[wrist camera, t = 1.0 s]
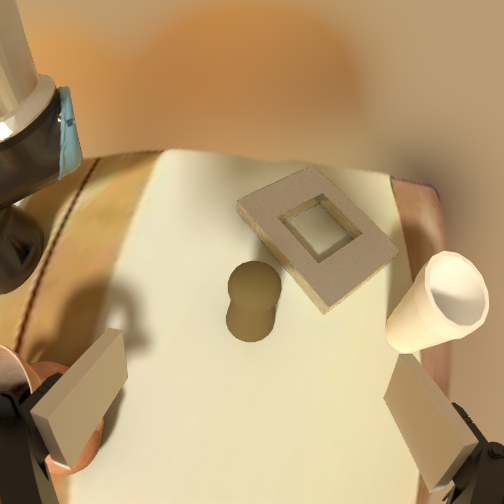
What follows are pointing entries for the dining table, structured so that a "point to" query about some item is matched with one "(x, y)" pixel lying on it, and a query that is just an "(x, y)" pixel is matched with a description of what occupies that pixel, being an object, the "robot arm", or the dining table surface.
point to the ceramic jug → (27, 381)
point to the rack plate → (293, 252)
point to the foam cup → (439, 304)
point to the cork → (252, 300)
